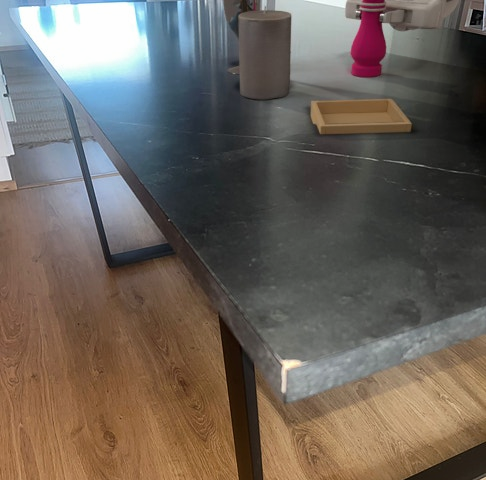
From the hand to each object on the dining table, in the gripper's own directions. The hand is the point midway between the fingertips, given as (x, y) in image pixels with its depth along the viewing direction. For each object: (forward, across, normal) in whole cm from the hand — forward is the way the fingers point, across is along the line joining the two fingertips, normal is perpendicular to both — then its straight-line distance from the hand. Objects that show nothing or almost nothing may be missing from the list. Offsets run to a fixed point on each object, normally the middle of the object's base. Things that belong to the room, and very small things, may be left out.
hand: (369, 16), depth 105 cm
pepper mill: (-1, 0, +11) cm, 11 cm away
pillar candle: (+23, -6, +11) cm, 27 cm away
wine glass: (+14, -22, +11) cm, 29 cm away
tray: (+28, +18, +11) cm, 35 cm away
